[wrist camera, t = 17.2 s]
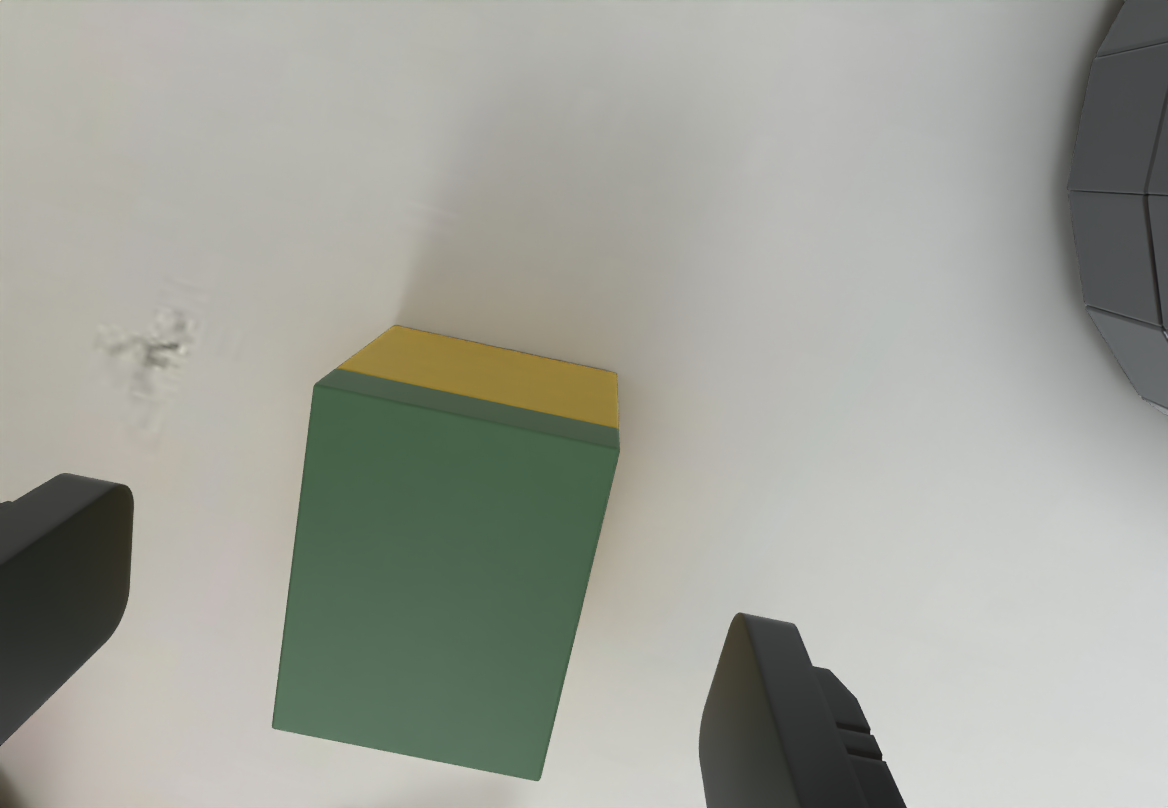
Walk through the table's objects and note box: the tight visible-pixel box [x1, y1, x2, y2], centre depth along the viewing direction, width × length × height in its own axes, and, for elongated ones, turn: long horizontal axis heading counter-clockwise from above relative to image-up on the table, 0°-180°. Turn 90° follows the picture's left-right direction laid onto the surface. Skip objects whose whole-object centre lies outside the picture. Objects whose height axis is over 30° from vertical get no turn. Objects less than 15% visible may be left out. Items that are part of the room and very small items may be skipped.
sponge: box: [272, 325, 620, 781], centre depth 15 cm, size 6×4×4 cm
